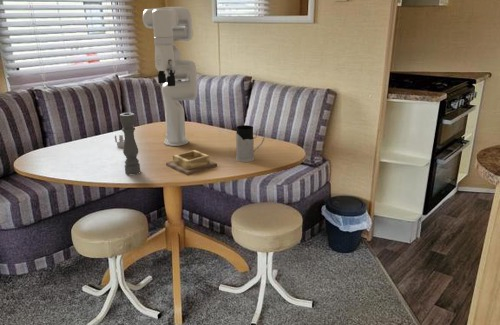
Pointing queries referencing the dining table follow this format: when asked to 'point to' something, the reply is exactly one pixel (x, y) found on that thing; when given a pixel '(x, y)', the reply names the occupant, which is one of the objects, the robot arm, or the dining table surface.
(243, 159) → the grey and black mug
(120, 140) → the architectural model
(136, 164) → the candle holder
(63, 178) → the dining table surface
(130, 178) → the dining table surface
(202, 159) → the socket base
